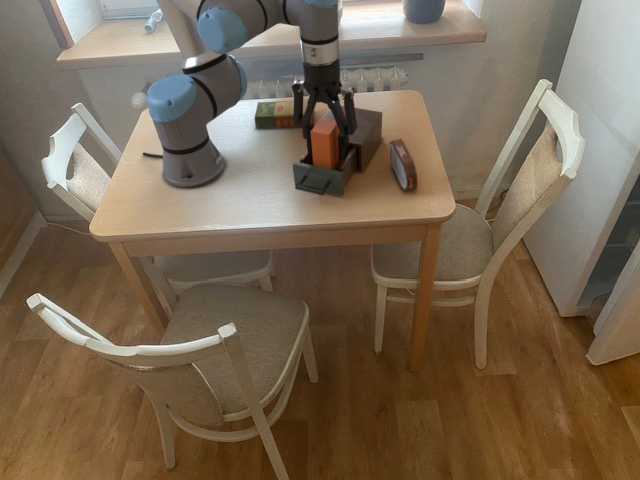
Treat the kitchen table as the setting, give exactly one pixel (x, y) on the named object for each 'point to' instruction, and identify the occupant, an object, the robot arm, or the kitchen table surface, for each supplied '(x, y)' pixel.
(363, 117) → the cabinet
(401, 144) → the tin
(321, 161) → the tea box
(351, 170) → the drawer
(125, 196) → the kitchen table surface
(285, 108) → the carton
